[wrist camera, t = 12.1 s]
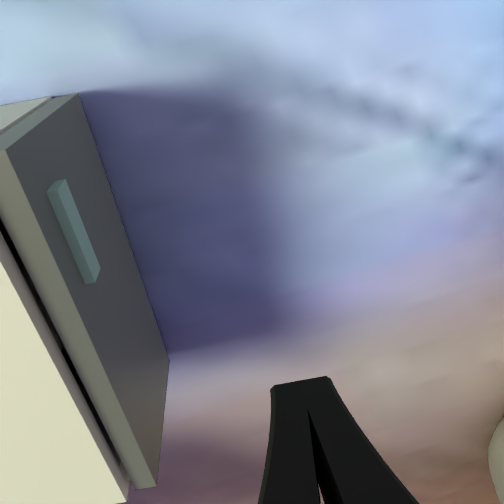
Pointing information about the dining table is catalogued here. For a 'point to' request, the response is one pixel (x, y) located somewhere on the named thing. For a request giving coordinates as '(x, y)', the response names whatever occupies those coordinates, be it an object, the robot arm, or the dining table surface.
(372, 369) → the dining table surface
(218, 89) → the dining table surface
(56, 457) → the box
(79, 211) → the grey box with handle
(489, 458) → the jar
